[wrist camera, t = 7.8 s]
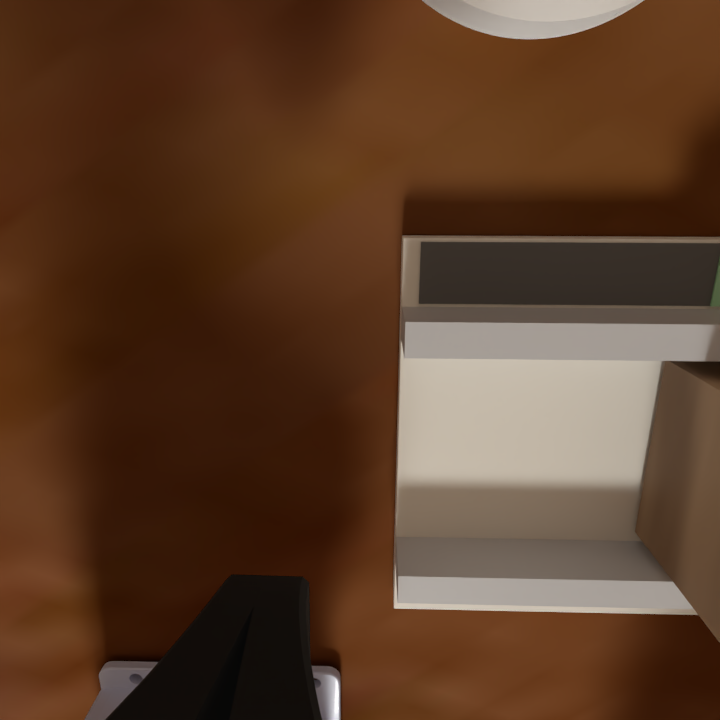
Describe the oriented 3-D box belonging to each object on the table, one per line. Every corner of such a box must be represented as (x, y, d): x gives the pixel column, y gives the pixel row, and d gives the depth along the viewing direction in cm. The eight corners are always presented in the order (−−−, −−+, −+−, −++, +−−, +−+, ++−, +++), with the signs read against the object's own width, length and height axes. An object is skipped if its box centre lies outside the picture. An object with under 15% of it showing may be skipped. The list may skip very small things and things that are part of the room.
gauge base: (392, 588, 20) (399, 744, 15) (401, 235, 17) (416, 258, 11) (882, 598, 20) (1086, 762, 14) (1009, 238, 16) (1359, 263, 10)
